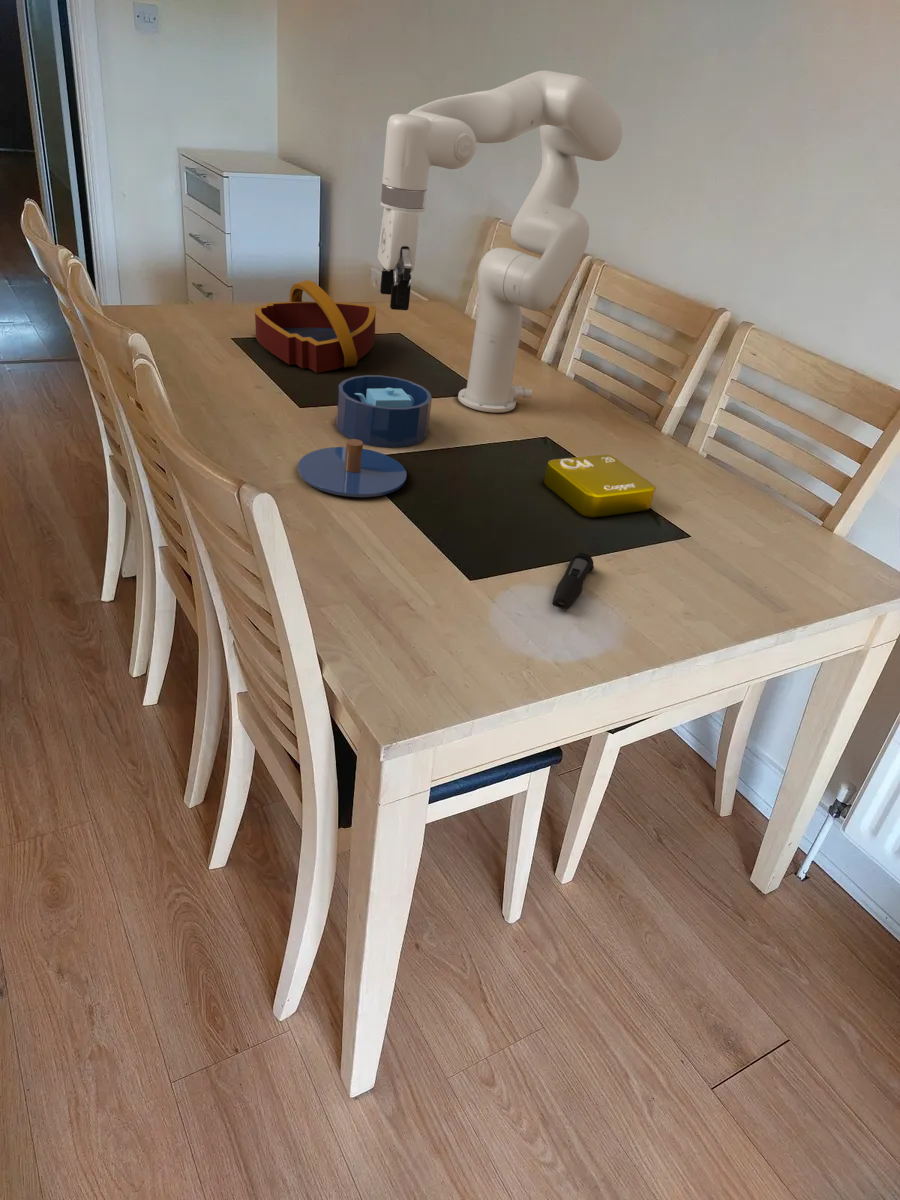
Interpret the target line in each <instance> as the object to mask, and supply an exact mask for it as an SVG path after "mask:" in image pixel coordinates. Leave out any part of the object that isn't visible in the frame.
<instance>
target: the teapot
mask: <svg viewBox="0 0 900 1200" xmlns="http://www.w3.org/2000/svg"><path fill="white" fill-rule="evenodd" d="M354 394H355V395H357V396H359V397H360V399H361V402H363V403H366V404H370V405H374V406H381V407H389V408H406V407H412V406H413V403H414V399H413V398H412V396H410V395H407V394H406V393H405V392H404V391H403V389H401V388H385V389H367V394H366V399H365V396H364V395H363V394H361V393H354Z"/></svg>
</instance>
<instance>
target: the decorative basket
mask: <svg viewBox="0 0 900 1200" xmlns="http://www.w3.org/2000/svg"><path fill="white" fill-rule="evenodd" d="M303 293H305V294H307V295H308V296H309V297H310V298H311V299H312V300H313V301H303ZM376 312H377V311H376V306H375V305H369V304H362V303H351V302H336V301H334V300H333V299H332V298H331V296H330V295H329V294H328V293H327V292H326V291H325V290H324V289H323V288H322V287H320V286H319V285H318V284H317V283H316V282H314V281H312V280H309V279H306V280H302V281H300V282H297V283H293V285H291V287H290V291H289V301H278V302H266V304H261V306H255V307H254V320H255V321H254V322H255V339H256V341H257V342H258V343H259V344H260V345H261V346H262V347H263V348H264V349H265V350H266V351H268V352H269V353H271V354H272V355H273V356H275V357H276V358H278V359H279V360H281V361H283V362H284V363H286V364H287V365H289V366H291V365H297V366H298V367H300V368H301V369H309V370H311V371H313V372H314V373H316V374H318V373H323V372H329V371H333V370H338V369H341V368H352V367H357V364H358V360H360V359H361V358H363V357H364V356H365V355H367V354H368V353H369V352H370V350H371V348H373V346H374V343H375V340H376V339H375V338H376V317H377V316H376Z"/></svg>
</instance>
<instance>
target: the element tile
mask: <svg viewBox="0 0 900 1200" xmlns="http://www.w3.org/2000/svg"><path fill="white" fill-rule="evenodd" d="M543 483H544V486H546V487H547V488H548V489H549V490H551V491H552V492H553V493H554V494H555V495H557V496H558V497H559V498H560V499H561V500H563V501H564V502H565V503H566V504H567V505H569V506H570V507H571V508H572V509H574V510H575V512H577V513H578V514H580V516H584V517H585V518H586V517H587V518H593V519H594V518H602V517H610V516H617V515H625V514H633V513H640V512H645V511H648V510H650V508H651V505H652V502H653V498H654V496H655V492H656V486H655V484H653V482H650V481H649V480H647V478H645V477H643V476H642V475H640V474H639V473H638V472H636V471H635V470H634V469H632V468H630V467H629V466H628V465H626V464H625V463H624V462H622V461H621V460H619V459H618V458H616V457H615V456H613V455H611V454H596V455H586V456H577V457H576V456H575V457H564V458H555V459H550V460H548V462H547V465H546V469H545V474H544V479H543Z"/></svg>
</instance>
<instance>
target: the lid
mask: <svg viewBox="0 0 900 1200" xmlns="http://www.w3.org/2000/svg"><path fill="white" fill-rule="evenodd" d="M297 473H298V475H299V477H300V478H301V479H302V480H303V481H304V482H305V483H307V485H310V486H311V487H313V488H315V489H317V490H320V491H322V492H326V493H328V494H333V495H336V496H342V497H351V498H372V497H374V498H375V497H380V496H385V495H390V494H391V493H394V492H396V491H398V490H400V489H401V488H402V487H403V486H404V485H405V483H406V481H407V471H406V468H405V467H404V466H403V464H402V463H401V462H399V461H397V460H396V459H395V458H392V457H391V456H389V455H387V454H384V453H381V452H379V451H375V450H372V449H368V448H367V449H366V448H364V443H363V442H362V441H361V440H358V439H350V438H348V439H347V440H346V444H345V446H334V447H333V446H332V447H325V448H320V449H317V450H313V451H311V452H308V453H306V454H305V455H303V456H302V457H301V458H300V459H299V461H298V463H297Z"/></svg>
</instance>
